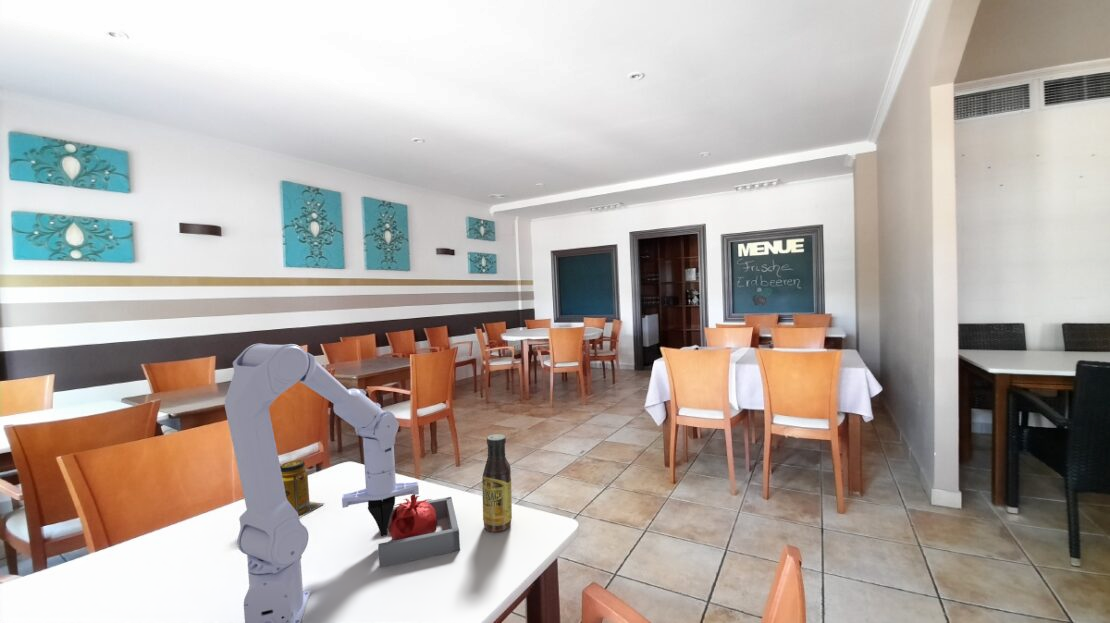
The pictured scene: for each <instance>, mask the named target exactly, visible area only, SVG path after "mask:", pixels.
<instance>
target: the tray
mask: <svg viewBox="0 0 1110 623" xmlns="http://www.w3.org/2000/svg"><path fill="white" fill-rule="evenodd" d="M426 502H428V503H430V504H431V505H432V506H433V507H434V509H435V512H436V518H437V520H439V519H443V518H444V519H445V518H447V522H448V528H449V529H444V530H441V531H440V530H439V531H435V532H434V533H429V534H424V535H419V536H414V537H409V538H405V539H400V540H395V541H394V540H391V541H385V542H382V543H381V542H380V543H378V544H377V548H378V549H377V550H378V551H377V552H378V564H379V565H378V567H379V569H380V568H384V567H389V566H394V565H398V564H403V563H407V562H413V561H417V560H421V559H425V558H430V557H435V556H438V555H444V554H449V553H452V552H457V551H460V550H461V543H460V542H461V541H460V530H459V524H458V520H457V515H456V510H455V508H454V503H453V499H452V496H448V497H442V498H436V499H432V500H427V501H426ZM396 507H397V506H394V508H393V510H392V512H391V515H390V518H389V522H388V527H387V530H389V526H390V525H391V516H392V514H393V512H394V510H395V509H396Z"/></svg>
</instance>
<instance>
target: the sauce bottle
mask: <svg viewBox="0 0 1110 623" xmlns="http://www.w3.org/2000/svg"><path fill="white" fill-rule="evenodd" d="M506 438H507V437H506V436H505V434H502V433H500V434H498V433H497V434H496V433H494V434H490V435H488V436H487V437H486V444H487V459H486V463H485V466H484V469H483V473H482V481H481V482H482V521H483V527H484V528H485V529H486V530H487V531H489V532H494V533H495V532H497V533H499V532H504V531H505V530H507V529H509V527H510V526H512V519H513V516H512V515H513V513H512V512H513V510H512V509H513V508H512V507H513V506H512V503H513V502H512V475H511V474H512V471H511V465H510V463H509V461H508V460H507V457H506V442H507V441H506V440H507V439H506Z"/></svg>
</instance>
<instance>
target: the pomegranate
mask: <svg viewBox="0 0 1110 623" xmlns="http://www.w3.org/2000/svg"><path fill="white" fill-rule="evenodd" d="M419 497H420V495H413V494H410V499H408V498H404V499H403V501H406V502H402V503H398V504H396V505H394V507H396V509H395V510H394V512H393V514H392V516H391V525H390V526H389V528H388V532H389V536H390V538H391V540H392V541H395V540H400V539H405V538H409V537H414V536H419V535H424V534H429V533H434V532H437V528H438V521H437V520H438V519H437V518H436V512H435V509H434V507H433V506H432V505H431V504H430V503H428V502H426V501H431V500H433V498H431V499H429V498H427V499H424V500H418V498H419Z"/></svg>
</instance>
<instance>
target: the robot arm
mask: <svg viewBox="0 0 1110 623" xmlns="http://www.w3.org/2000/svg"><path fill="white" fill-rule="evenodd" d="M232 367H233V374H232V378H231V380H230V384H229V387H228V390H227V393H226V396H225V399H224V409H225V413H226V417H227V418H226V419H227V423H228V429H229V433H230V437H231V442H232V447H233V452H234V457H235V461H236V465H237V469H238V470H237V471H238V474H239V480H240V484H241V488H242V494H243V499H244V502H245V504H244V505H245V507H246V510H245V511H244V512H243V513H242V514H241V515H240V516H239V519H238V520H239V525H240V527H239V532H238V536H237V541H236V542H237V547H238V550H239V551H240V552H241V553H243V554H245V555H246V557H247V560H246V561H247V572H248V573H247V575H248V589H247V591H246V594H245V595H244V598H243V615H244V616H243V617H244V623H301V622H302V619H303V617H304V613H305V611H306V607H307V605H308V601H309V598H310V595H311V590H310V589H308V590H307V589H306V590H304V587H303V586H304V585H303V574H302V572H303V571H302V561H301V560H302V558H303V556H302V555H303V554H304V553H305V551H306V548H307V546H308V543H309V531H308V529H307V527H306V526H305V525H304V524H303V523H302V522H301V520H300V518H299V516H298V513H297V511H296V510H295V509H294V508H293V506H292V505H291V504H290V503H289V502H288V500H287V498H286V493H285V488H284V483H283V478H282V473H281V468H280V466H281V464H280V463H281V462H280V458H279V453H278V450H277V449H278V448H277V443H276V439H275V435H274V434H275V433H274V428H273V423H272V418H271V412H270V406H271V405H272V404H273V403H274V402H275V401H276V399H277V398H278V397H279V396H281V395H282V394H283V393H284V392H286V391H288V389H291V387H293V386H294V385H295V384H297V383H301V384H303V385H305V386H306V387H307V388H310V389H311V390H312V391H313V392H316V393H317V394H318V395H320V396H321V397H323V398H325V399H326V400H328V401H329V402H331V403H332V404H333V413H334V414H336V415H337V416H338V417H339V418H341V419H342V420H344V421H345V422H346V423H348V424H349V425H350V426H352V427H353V428H354V430H355V433H356V435H357V436H359V437H362V444H363V461H364V478H365V481H364V482H365V488H362V489H360V490H356V491H353V492H348V493H344V494H343V495H342V498H341V504H342V508H343V509H344V508H349V506H352V505H358V504H364V503H367V511H368V512H369V514H371V516H372V518H373V519H374V521H375V523H376V526H377V528H378V530H379V535H380V537H386V536H388V529H387V527H388V522H389V518H390V515H391V512H392V510H393V508H394V507H395V504H396V498H397V497H398V498H400V497H402V496H403V497H404V496H408V495H410V496H411V495H415V496H418V495H419V492H420V489H419V482H418V481H415V482H414V481H413V482H397V481H396V480H397V479H396V468H395V467H396V466H395V464H396V463H395V462H396V461H395V449H394V447H395V443H396V436H397V435H396V434H397V433H398V430H399V426H400V422H399V421H398V420H397V417H396V416H395V415H394V413H393V412H391V411H387V410H383V409H382V408H381V407H382V405H381V404H380V403H379V402H375V401H373V400H372V399H370V398H369V397H368V396H366V395H367V391H366V390H365V389H363V388H362V389H361V388H348V389H347V387H346V386H344V385H343V384H342V383H341V382H340V381H338V379H336V378H335V377H334V376H333V375H332V374H331V373H330V372H329V371H328V370H326V368H325V367H323V366H322V365H321V364H320V363H319V362H318V361H317V359H316V357H315V356H314V355H313V354H311V353H309V352H307V351H306V350H305V349H304V347H301V346H299V345H298V344H294V343H289V344H266V343H263V342H262V343H261V342H260V343H255V344H252V345H251V344H250V346H248V347H246V348H245V349H243V351H242V352H241V353H240V354H239V355H238V356H237V357H236V359H235V360H233V361H232Z"/></svg>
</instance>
